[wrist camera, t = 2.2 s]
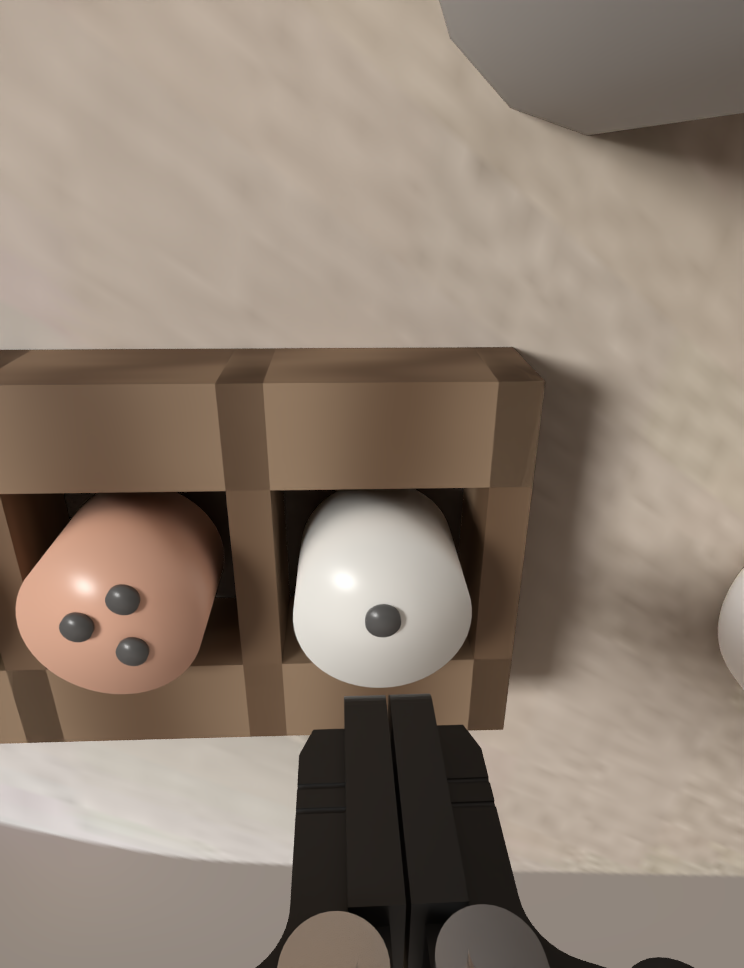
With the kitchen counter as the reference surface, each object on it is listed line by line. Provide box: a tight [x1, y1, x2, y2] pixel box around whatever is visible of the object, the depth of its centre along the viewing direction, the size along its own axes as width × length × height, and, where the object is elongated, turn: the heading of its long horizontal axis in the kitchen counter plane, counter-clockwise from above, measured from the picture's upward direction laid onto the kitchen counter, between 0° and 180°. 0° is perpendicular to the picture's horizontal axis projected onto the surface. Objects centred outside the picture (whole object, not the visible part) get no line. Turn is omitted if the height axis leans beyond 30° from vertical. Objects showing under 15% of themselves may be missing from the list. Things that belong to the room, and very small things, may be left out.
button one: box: [293, 488, 472, 688], centre depth 16 cm, size 4×4×3 cm
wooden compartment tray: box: [0, 347, 545, 744], centre depth 17 cm, size 19×10×3 cm, turn 90°
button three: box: [16, 492, 224, 694], centre depth 16 cm, size 4×4×3 cm
